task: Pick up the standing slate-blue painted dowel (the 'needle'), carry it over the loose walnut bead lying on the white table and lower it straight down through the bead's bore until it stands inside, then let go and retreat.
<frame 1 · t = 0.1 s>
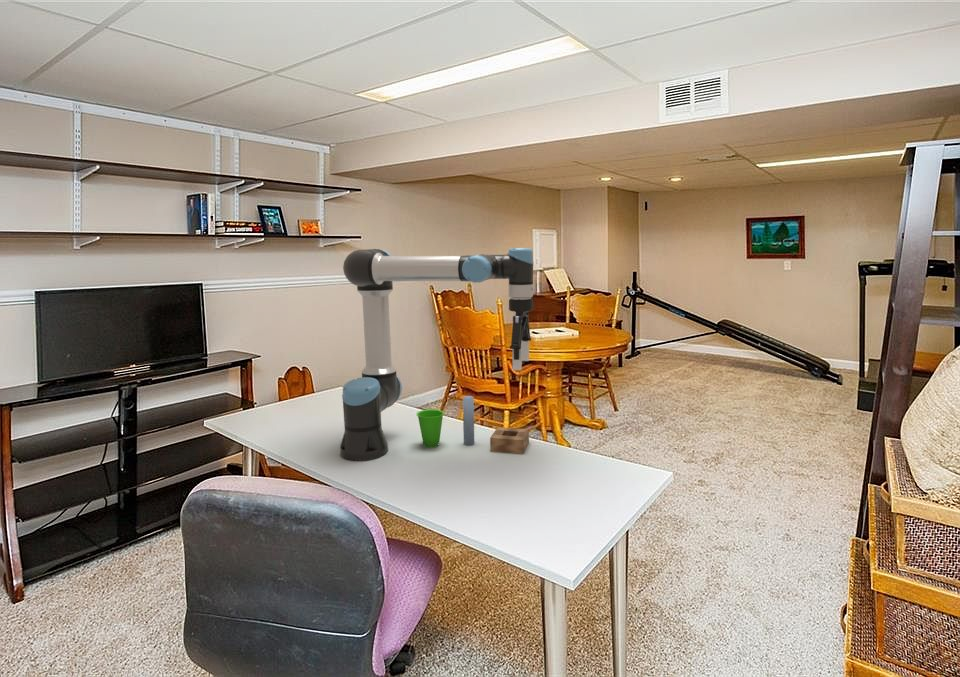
hand: (521, 365, 176), 28 cm above the table, fingers open, 13 cm apart
bead: (510, 446, 183), on the table
needle dowel: (469, 443, 186), on the table
cup: (431, 445, 185), on the table
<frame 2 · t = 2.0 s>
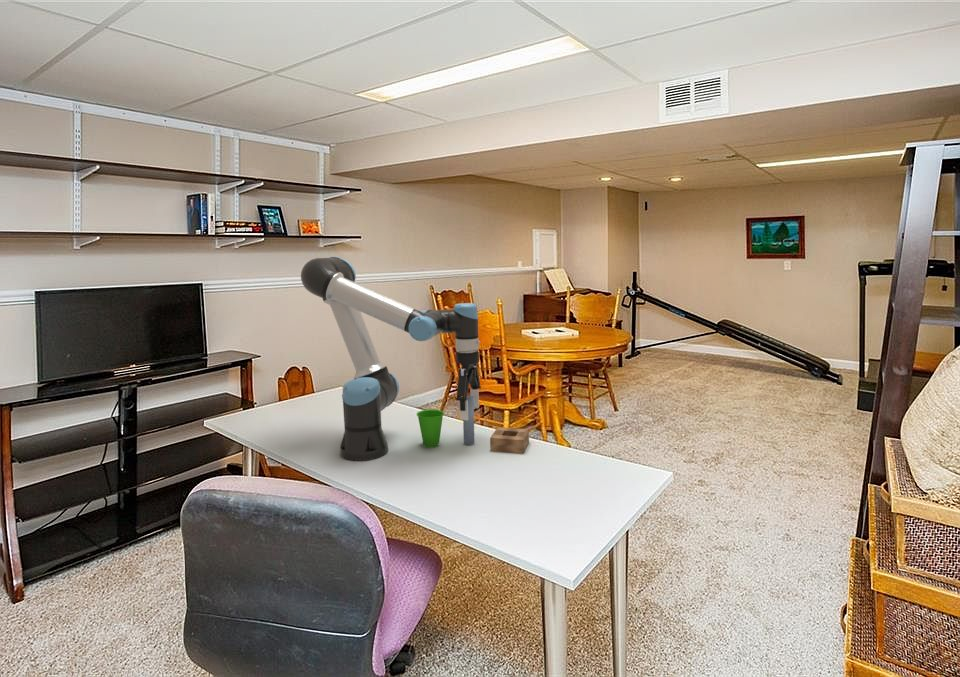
hand: (469, 413, 184), 10 cm above the table, fingers open, 13 cm apart
nothing on the table moved.
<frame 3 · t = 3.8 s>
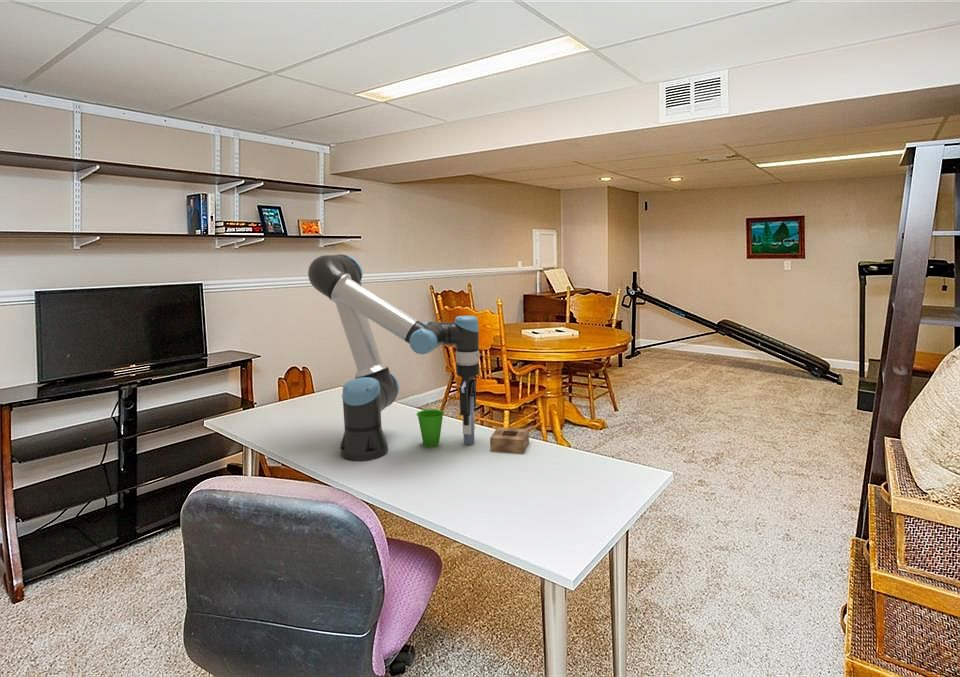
hand: (468, 431, 186), 4 cm above the table, fingers closed on needle dowel, 3 cm apart
needle dowel: (469, 443, 186), on the table, touching gripper
everything else where it was.
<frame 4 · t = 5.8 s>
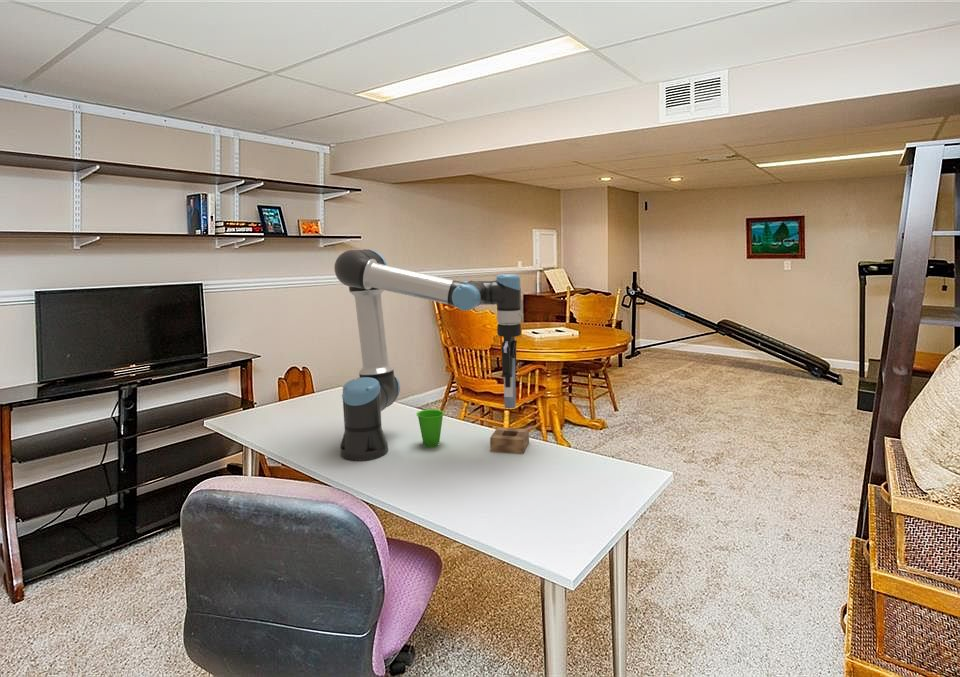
hand: (509, 394, 180), 18 cm above the table, fingers closed on needle dowel, 3 cm apart
needle dowel: (510, 406, 181), point 14 cm above the table, touching gripper
everything else where it was.
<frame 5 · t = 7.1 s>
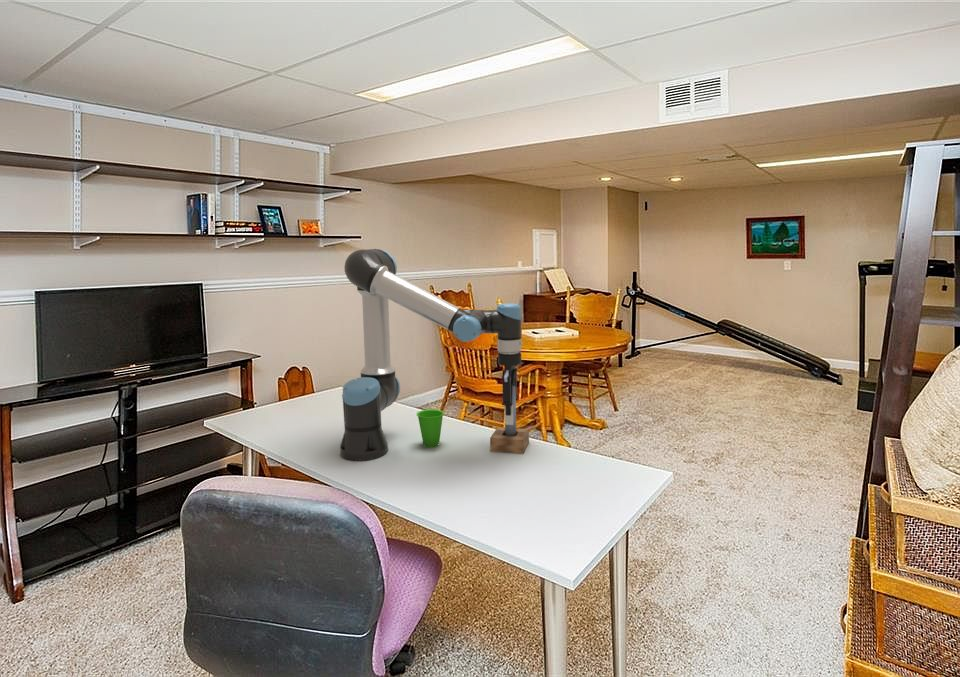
hand: (510, 422, 181), 8 cm above the table, fingers closed on needle dowel, 3 cm apart
needle dowel: (510, 434, 182), point 4 cm above the table, touching gripper
everything else where it was.
when the fingers open (6 cm above the table, at t = 8.1 s): needle dowel drops 1 cm, resting in bead.
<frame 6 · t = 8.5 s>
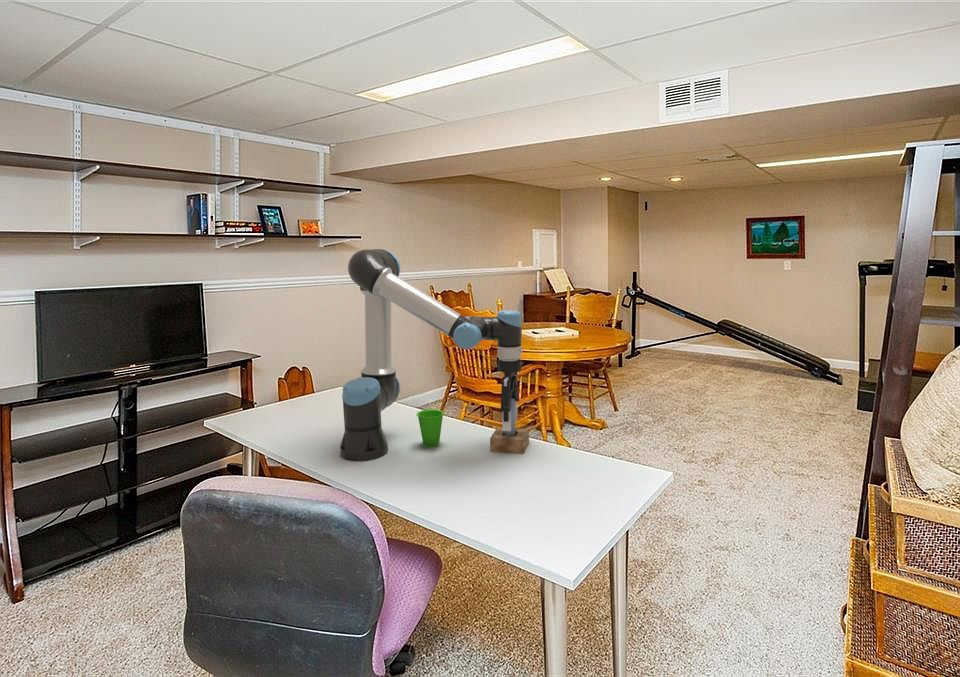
hand: (509, 425, 182), 7 cm above the table, fingers open, 10 cm apart
needle dowel: (510, 446, 183), resting in bead
everything else where it was.
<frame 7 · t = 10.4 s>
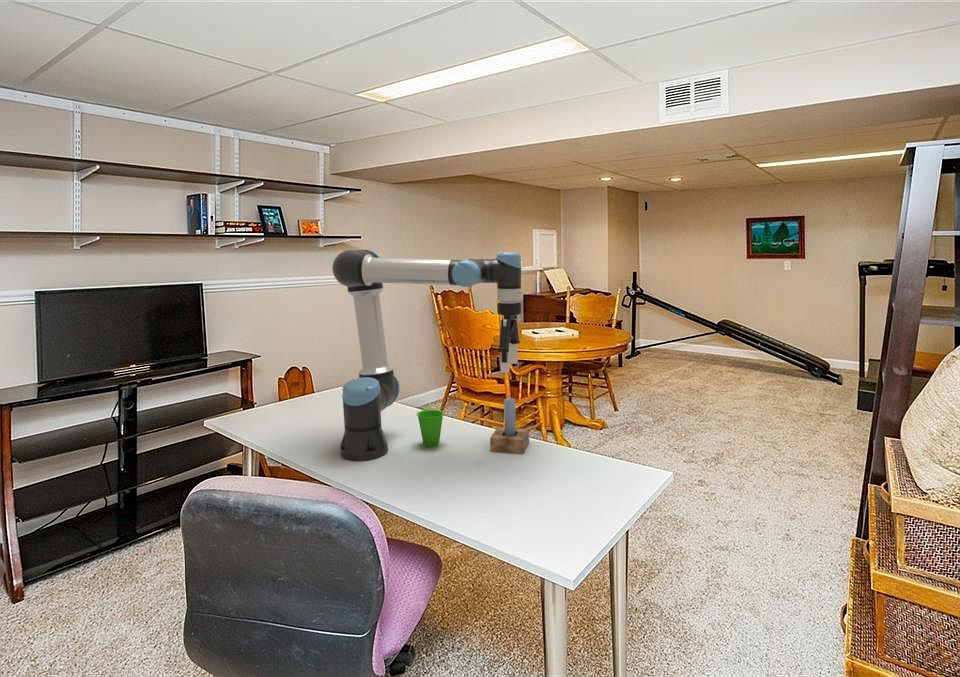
hand: (509, 367, 178), 26 cm above the table, fingers open, 13 cm apart
nothing on the table moved.
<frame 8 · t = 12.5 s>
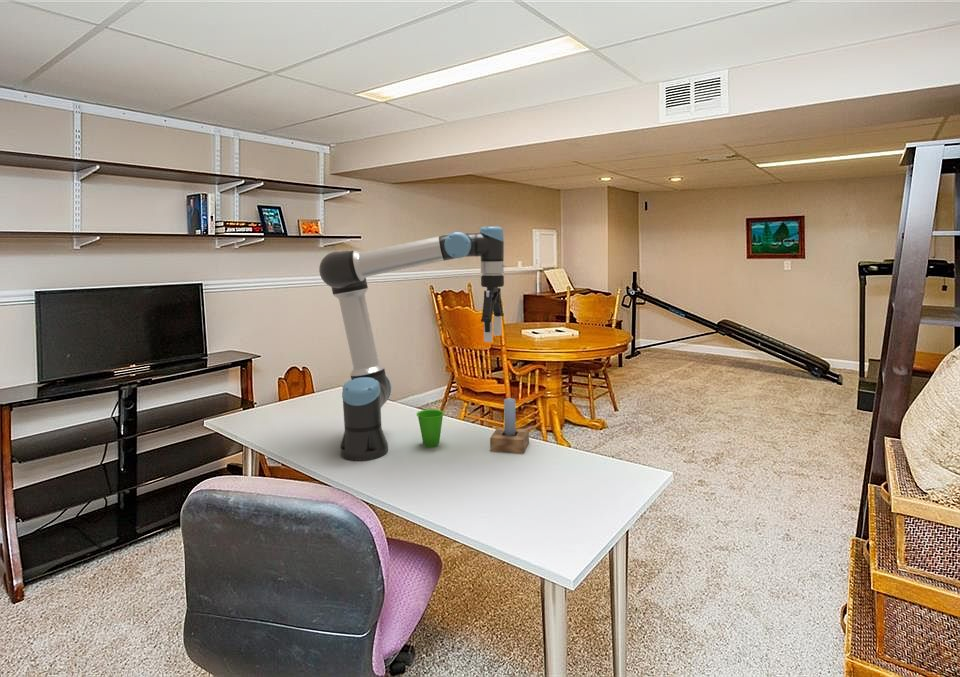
hand: (493, 338, 185), 35 cm above the table, fingers open, 13 cm apart
nothing on the table moved.
at the end: needle dowel 0.1 cm off-centre on the bead, point 0.0 cm above the bead's base; needle dowel tilted 0°; the gripper is holding nothing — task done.
